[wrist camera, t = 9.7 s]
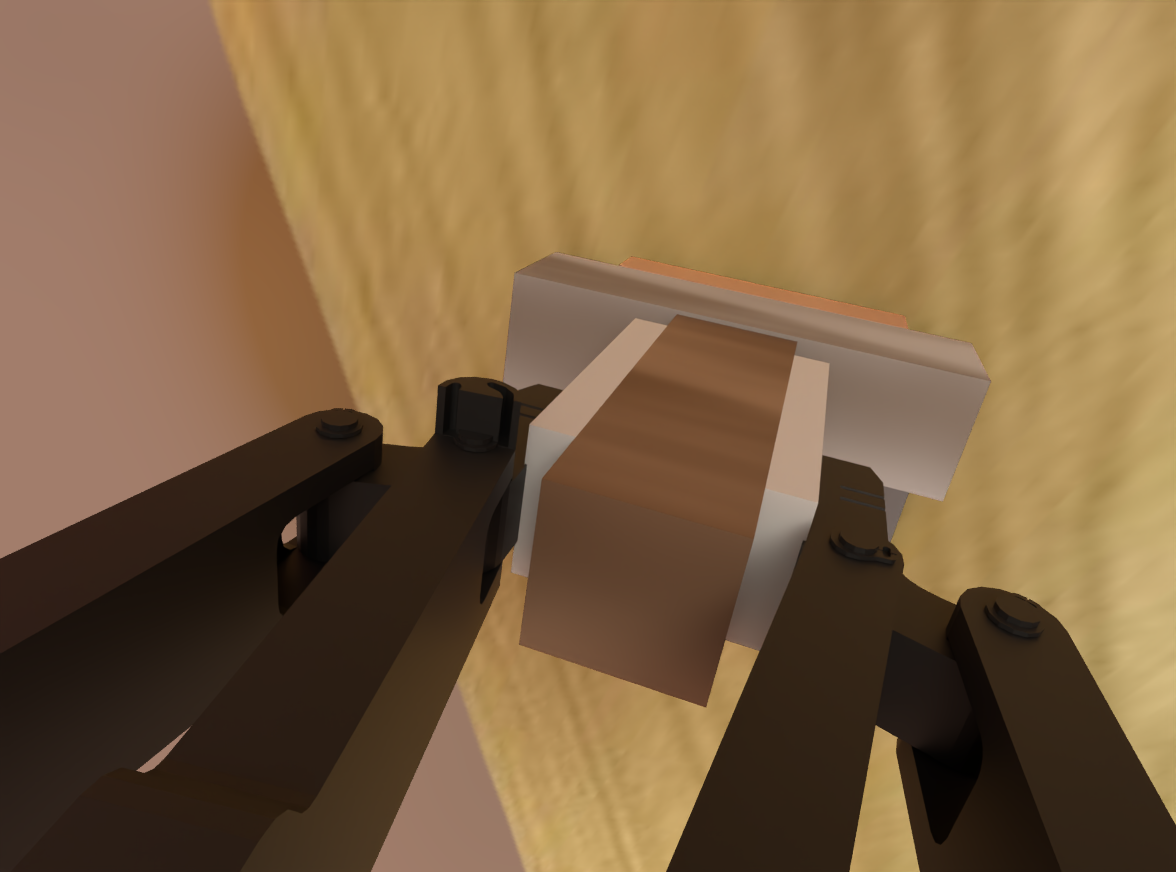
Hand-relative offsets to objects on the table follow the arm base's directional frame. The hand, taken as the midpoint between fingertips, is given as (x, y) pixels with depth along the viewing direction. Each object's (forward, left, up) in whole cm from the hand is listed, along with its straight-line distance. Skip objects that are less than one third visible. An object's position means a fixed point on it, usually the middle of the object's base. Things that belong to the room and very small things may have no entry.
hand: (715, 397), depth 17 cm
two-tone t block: (0, 0, -4) cm, 4 cm away
